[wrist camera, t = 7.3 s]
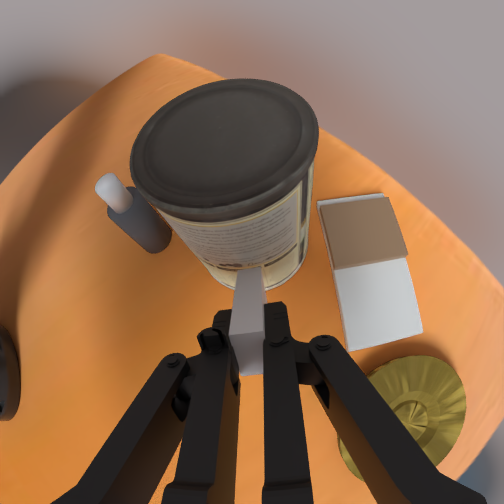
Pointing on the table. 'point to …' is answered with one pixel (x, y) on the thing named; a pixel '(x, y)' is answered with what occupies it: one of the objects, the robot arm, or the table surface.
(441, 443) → the olive gold disc
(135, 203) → the grey white-capped bottle
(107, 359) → the table surface
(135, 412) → the robot arm
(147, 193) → the coffee can
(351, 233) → the white and brown box
